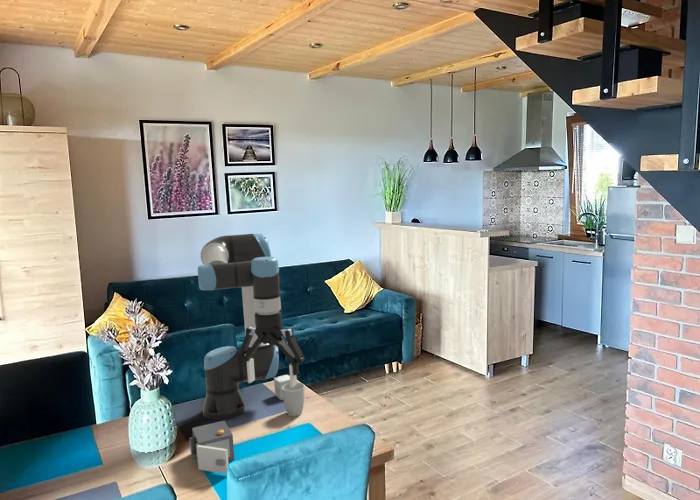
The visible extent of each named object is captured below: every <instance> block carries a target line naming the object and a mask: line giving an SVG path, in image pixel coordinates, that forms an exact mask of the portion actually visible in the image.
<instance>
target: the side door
mask: <svg viewBox="0 0 700 500" xmlns="http://www.w3.org/2000/svg"><path fill="white" fill-rule="evenodd" d="M196 453H197V458H196V463H197V464H196V465H197V469H198V471H199V470H200V471H205V472H212V473H216V474H217V473H219V474H225V475H228V474H227V468H228V465H229V464H230V463H229V462H230V461H228V449H223V448H216V447H209V446H202V445H198V444H196ZM229 466H230V465H229Z"/></svg>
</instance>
